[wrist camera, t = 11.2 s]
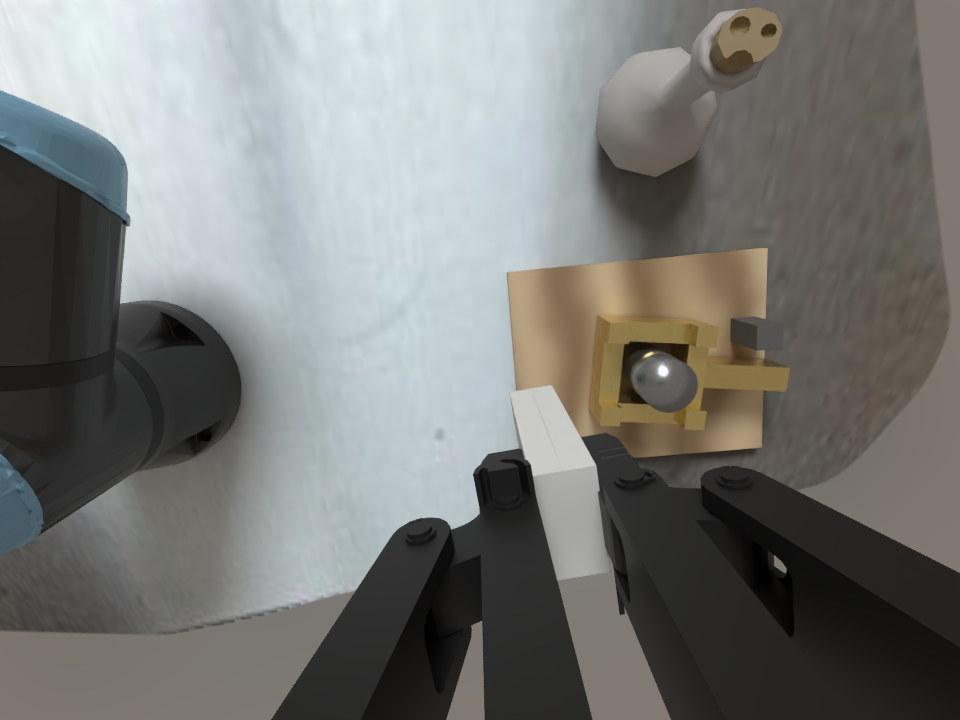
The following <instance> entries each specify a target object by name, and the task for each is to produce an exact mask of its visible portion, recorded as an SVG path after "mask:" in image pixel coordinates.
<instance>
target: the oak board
mask: <svg viewBox="0 0 960 720" xmlns="http://www.w3.org/2000/svg"><path fill="white" fill-rule="evenodd" d="M767 250H768V248H757V249H746V250H736V251H725V252H715V253H704V254H694V255H683V256H673V257H662V258H652V259H641V260H631V261H620V262H609V263H599V264H588V265H578V266H567V267H557V268H546V269H536V270H525V271H515V272H507V280H508V292H509V304H510V317H511V329H512V341H513V353H514V366H515V378H516V390H517V391H520V390H526V389H531V388H537V387H543V386H549V385H552V387H553V388H554V390H555V392H556V394H557V396H558V397H559V399H560V401H561V403H562V405H563V406H564V408H565V410H566V412H567V414H568V415H569V417H570V419H571V421H572V423H573V424H574V426H575V428H576V430H577V432H578V433H579V435H580V437H584V436H590V435H596V434H602V433H608V434H610V435H612V436H614V437H617V438H618V439H619V440H620V441H621V443H622V444H623V445H624V447H625V448H626V449H627V451H628V452H629V454H630V455H631V456H632V457H633V458H640V457H652V456H665V455H677V454H689V453H701V452H714V451H726V450H738V449H751V448H762V420H763V390H741V389H719V388H703V393H702V400H701V408H703V409H704V410H706V411H707V414H706V420H705V427H704V430H686V429H683V428H682V427H681V426H680V425H679V424H660V423H638V422H620V427H619V426H600V425H599V423H598V422H597V420H596V419H595V417H594V415H593V414H592V412H591V411H590V409H589V408H588V405H589V394H590V383H591V373H592V362H593V351H594V340H595V330H596V319H597V315H615V316H638V317H661V318H684V319H696V320H699V321H702V322H705V323H708V324H711V325H714V326H717V327H719V332H718V339H717V346H716V348H711V347H709V352H708V356H716V357H739V358H762V359H764V352H765V350H760V351H756V350H753V349H751V348H748V347H745V346H743V345H740V344H737V343H735V342H732V341H730V324H731V318H740V317H751V316H755V317H759V318H763V319H765V318H766V284H767ZM630 343H633V341H629V344H630ZM648 343H650V344H652V345H654V346H656V347H657V348H659V349H661V350H663V351H664V352H666V353H668V354H670V355H671V349H672V343H656V342H648ZM627 345H628V344H624V347H625V346H627ZM619 392H636V391H635V390H633V389H632V388H631V387H630V386H629V385H628V384H627V383H626V382H625V381H624V380H623V379H622V378H621V380H620V389H619Z"/></svg>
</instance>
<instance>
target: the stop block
mask: <svg viewBox="0 0 960 720" xmlns="http://www.w3.org/2000/svg"><path fill="white" fill-rule="evenodd" d="M730 341H732V342H735V343H737V344H740V345H743V346H745V347H748V348H751V349H753V350H756V351H760V350H772V349H782V345H783V323H779V322H775V321H771V320H767V319H763V318H759V317H755V316H751V317H740V318H731V324H730Z"/></svg>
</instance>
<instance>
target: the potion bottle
mask: <svg viewBox="0 0 960 720" xmlns="http://www.w3.org/2000/svg"><path fill="white" fill-rule="evenodd" d="M781 33H782V28H781V25H780V23H779V21H778V19H777V16H776V14H774V13H771V12H769V11H767V10H764V9H762V8H759V7H756V8H751V9H740V10H733V11H726V12H719V13H718V14H717V15H716V16H715V17H714V19H713V20H712V21H711V22H710V23H709V24H708V25H707V26H706V27H705V28H704V29H703V30H702V32H701V33H700V34H699V36H698V37H697V39H696V41H695V42H694V44H693V46H692V53H691V56H690V55H689V54H688V53H686V52H685V51H684V50H682V49H681V48H680V47H678V48H671V49H664V50H657V51H649V52H642V53H639V54H636V55H633V56H631V57H629V58H628V59H627V60H626V62H625V63H624V64H623V65H622V66H621V67H620V68H619V69H618V70H617V72H616V73H615V74H614V75H613V76H612V77H611V78H610V79H609V80H608V82H607V83H606V84H605V85H604V86H603V87H602V88H601V89H600V93H599V103H598V113H597V124H596V138H597V140H598V141H599V143H600V144H601V146H602V147H603V149H604V150H605V152H606V153H607V155H608V156H609V158H610V159H611V161H612V162H613V164H614V165H615V167H617V168H620V169H624V170H628V171H632V172H637V173H641V174H645V175H649V176H653V177H657V176H659V175H661V174H663V173H665V172H667V171H669V170H671V169H673V168H675V167H677V166H679V165H681V164H683V163H684V162H686V161H688V160H690V159H692V158H693V157H694V156H695V154H696V153H697V151H698V150H699V148H700V146H701V144H702V142H703V140H704V138H705V136H706V134H707V132H708V130H709V128H710V126H711V124H712V122H713V120H714V118H715V116H716V114H717V112H718V108H717V103H716V98H715V92H718V93H723V92H726V91H729V90H732V89H734V88H736V87H738V86H740V85H742V84H744V83H746V82H748V81H750V80H752V79H753V78H755V77H757V75H758V73H759V71H760V69H761V67H762V65H763V63H764V61H765V59H766V57H767V55H768V54H770V53H771V52H772V51H773V50H775V49H776V48H777V45H778V42H779V39H780V36H781Z"/></svg>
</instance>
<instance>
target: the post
mask: <svg viewBox="0 0 960 720" xmlns="http://www.w3.org/2000/svg"><path fill="white" fill-rule="evenodd" d="M621 378H622V379H623V380H624V381H625V382H626V383H627V384H628V385H629V386H630V387H631V388H632V389H633V390H635V391H636V392H637V393H638V394H639V395H640V396H641V397H642V398H643V399H644V400H645V401H646V402H647V403H648V404H649V405H650V406H651V407H652V408H654V409H656V410H658V411H660V412H665V413H672V412H677V411H680V410H682V409H684V408H685V407H687V406H688V405H689V404H690V403H691V402H692V400H693V399H694V397H695V395H696V393H697V389H698V380H697V377H696V374H695V372H694V371H693V369H692V368H691V367H690V366H688V365H687V364H685V363H684V362H682V361H680V360H678V359H677V358H675V357H673V356H671V355H670V354H668V353H666V352H664V351H663V350H661V349H659V348H657V347H656V346H654V345H652V344H650V343H648V342H633V343H630V344H628V345H627V346H625V347H624V352H623V361H622V370H621Z"/></svg>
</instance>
